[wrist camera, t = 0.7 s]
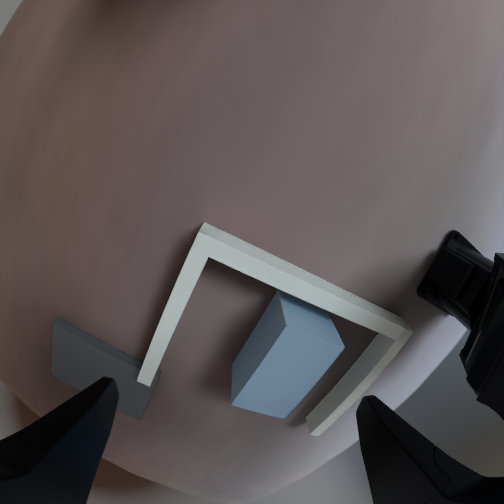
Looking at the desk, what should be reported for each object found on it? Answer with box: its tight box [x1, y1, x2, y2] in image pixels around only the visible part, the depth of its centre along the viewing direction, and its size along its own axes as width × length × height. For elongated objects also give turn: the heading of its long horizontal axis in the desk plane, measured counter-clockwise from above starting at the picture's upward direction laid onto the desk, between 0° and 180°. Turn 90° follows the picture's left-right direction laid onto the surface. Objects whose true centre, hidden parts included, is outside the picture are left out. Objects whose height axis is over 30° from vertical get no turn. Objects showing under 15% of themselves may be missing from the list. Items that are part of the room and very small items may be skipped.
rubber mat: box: [51, 317, 161, 420], centre depth 23 cm, size 11×8×1 cm
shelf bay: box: [137, 222, 414, 436], centre depth 22 cm, size 18×14×2 cm
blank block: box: [231, 290, 345, 419], centre depth 21 cm, size 4×8×5 cm, turn 153°
